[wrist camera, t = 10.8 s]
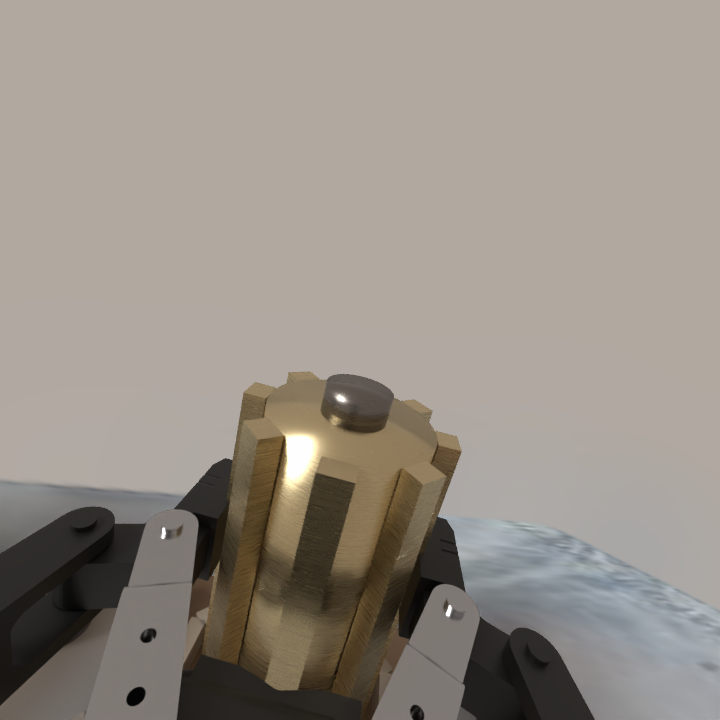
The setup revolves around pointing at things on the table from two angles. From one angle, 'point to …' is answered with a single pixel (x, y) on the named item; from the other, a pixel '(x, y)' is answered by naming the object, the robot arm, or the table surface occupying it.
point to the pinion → (324, 530)
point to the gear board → (85, 652)
